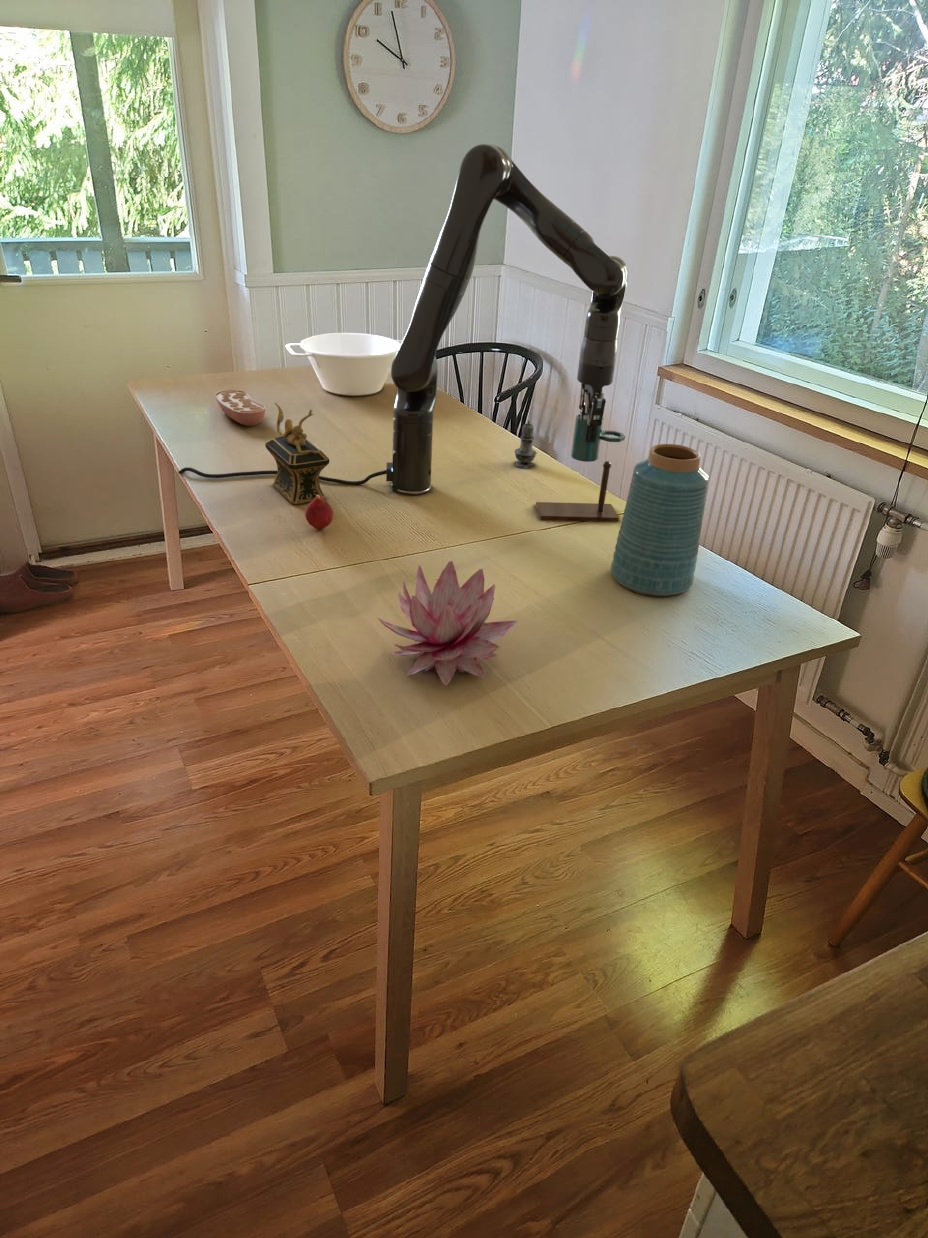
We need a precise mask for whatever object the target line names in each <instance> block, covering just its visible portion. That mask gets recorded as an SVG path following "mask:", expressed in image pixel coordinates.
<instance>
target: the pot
mask: <svg viewBox="0 0 928 1238" xmlns="http://www.w3.org/2000/svg"><path fill="white" fill-rule="evenodd" d="M402 341H403V339H402V340H401V339H393V338H390V337H387V336H383V335H377V334H372V333H361V332H330V333H320V334H315V335H311V336H308V337H306V338H304V339H302V340H301V341H300V342H297V343H296V342H295V343H286V344H285V349H286V350H287V351H288V352H289V353H290V355H292V357H297V358H298V357H299V358H300V357H301V358H303V357H304V358H306V357H307V358H308V360H309V362H310V365H311V366H312V368H313V370H314V373H315V375H316V376H317V379H318V381H319V383H320V384H321V387H322V389H323V390H325V391H327V392H328V393H331V394H334V395H339V396H345V397H346V396H347V397H362V396H370V395H374V394H376V393H378V392H380V391H381V390H382V389H383V388H384V385H385V383H386V381H387V379H388V376H389V375H390V374H391V365H392V362H393V360H394V358H395V356H396V354H397V352H398V350H399V348H400V346H401V343H402ZM291 347H300V348H301V349H302V350H303V351H304V353H298V352H295V351H294V349H292V348H291Z"/></svg>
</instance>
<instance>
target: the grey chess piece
mask: <svg viewBox="0 0 928 1238" xmlns="http://www.w3.org/2000/svg"><path fill="white" fill-rule="evenodd" d="M534 428H535V427H534V425H533V424H532V423H530V420H529V419H528V420H527V421H526V423H524V424H523V425H522V427H521V435H520V436H519V439H520V445H519V447H518V448H515V449H514V455H515V459H516V460H517V461H515V462H514V463H513V464H514V466H515V467H516V468H519V469H525V470H526V469H533V468H534V467H535V464H534V463H533V461H534V460H535V458H536V455H537V454H538V452H537V451H536V450H535V449H533V441H534V439H535V437H534Z"/></svg>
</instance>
